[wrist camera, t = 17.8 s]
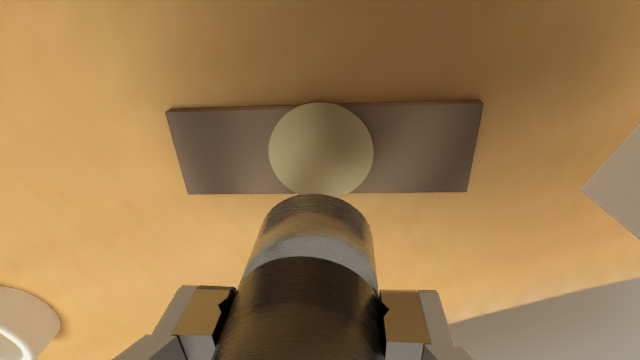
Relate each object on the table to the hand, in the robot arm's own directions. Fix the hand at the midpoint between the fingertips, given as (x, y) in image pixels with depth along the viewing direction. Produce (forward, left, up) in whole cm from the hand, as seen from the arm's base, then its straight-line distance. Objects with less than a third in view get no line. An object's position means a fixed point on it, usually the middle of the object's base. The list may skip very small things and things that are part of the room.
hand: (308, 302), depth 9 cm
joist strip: (0, 0, -10) cm, 10 cm away
